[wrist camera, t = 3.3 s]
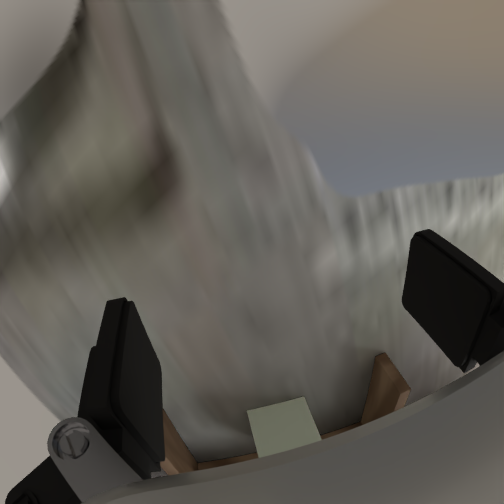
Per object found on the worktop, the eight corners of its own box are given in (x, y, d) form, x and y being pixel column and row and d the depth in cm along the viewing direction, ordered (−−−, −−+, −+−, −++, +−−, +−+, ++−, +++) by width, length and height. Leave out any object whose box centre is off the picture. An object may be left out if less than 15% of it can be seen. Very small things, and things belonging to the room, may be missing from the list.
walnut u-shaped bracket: (385, 352, 25) (414, 394, 20) (367, 423, 31) (385, 457, 26) (151, 409, 23) (151, 463, 18) (191, 468, 28) (196, 507, 24)
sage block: (303, 396, 25) (335, 473, 18) (304, 424, 28) (330, 492, 21) (246, 410, 25) (267, 492, 18) (253, 437, 27) (273, 508, 20)
